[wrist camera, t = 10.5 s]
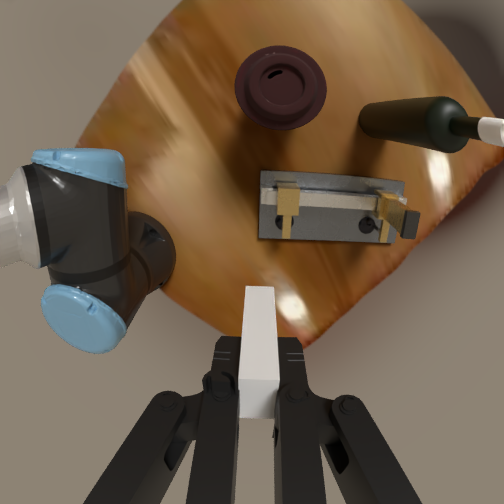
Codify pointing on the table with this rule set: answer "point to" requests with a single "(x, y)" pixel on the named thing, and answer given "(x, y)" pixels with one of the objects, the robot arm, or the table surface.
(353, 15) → the table surface
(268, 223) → the trammel plate
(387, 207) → the sliding leg
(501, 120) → the wine bottle
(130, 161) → the table surface
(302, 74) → the coffee cup
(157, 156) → the table surface
